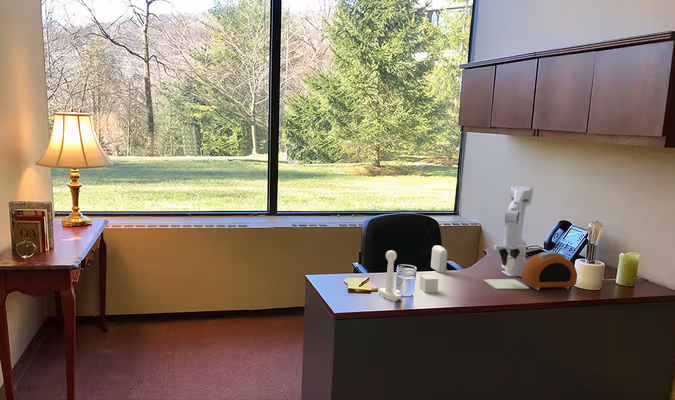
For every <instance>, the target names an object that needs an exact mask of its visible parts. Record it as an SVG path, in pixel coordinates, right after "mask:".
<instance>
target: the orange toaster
mask: <svg viewBox="0 0 675 400" xmlns="http://www.w3.org/2000/svg"><path fill="white" fill-rule="evenodd" d="M521 280H522V281H523V282H524V283H525V285H527V286H528V287H531V288H533V289H535V290H536V291H539V290H540V288H541V289H542V288H564V287H565V288H564V289H566V288H567V289H566V290H569V289H570V288H571V287H574V286H575V285H577V281H578V272H577V269H576V267H575V264H574V263H573V262H572V261H571V260H570V259H568V258H566V255H565V254H562V253H561V252H557V251H554V250H552V251H551V250H549V251H548V250H547V251H544V252H543V251H542V252H540V253H538V254H535V255H534V256H532V257H531V258H529V260H527V263H526V265H525V267H524V269H523V271H522V276H521Z"/></svg>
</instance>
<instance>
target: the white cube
mask: <svg viewBox="0 0 675 400" xmlns="http://www.w3.org/2000/svg"><path fill="white" fill-rule="evenodd" d="M419 289H420V290H421V291H422V290H423V291H422V292H424V293H437V292H436V291H438V289H439V278H438V277H436V276H435V275H434V274H420V276H419Z"/></svg>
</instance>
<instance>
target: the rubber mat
mask: <svg viewBox="0 0 675 400" xmlns="http://www.w3.org/2000/svg"><path fill="white" fill-rule="evenodd" d="M483 281H484V282H485V283H487V284H488V285H489V286H491V287H492V288H494V289H495V290H530V286H528V285H526V284H524V283H522V282H521V281H519V280H517V279H515V278H510V279H509V278H508V279H507V278H504V279H502V278H499V279H497V278H496V279H493V278H492V279H490V278H489V279H483Z"/></svg>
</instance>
